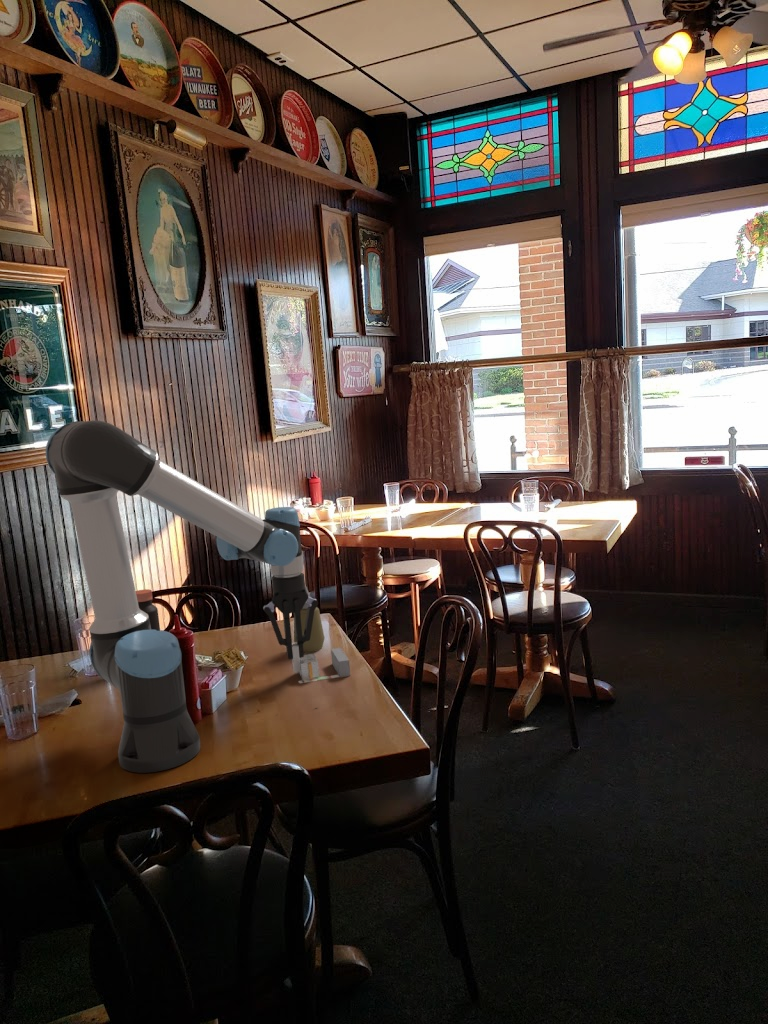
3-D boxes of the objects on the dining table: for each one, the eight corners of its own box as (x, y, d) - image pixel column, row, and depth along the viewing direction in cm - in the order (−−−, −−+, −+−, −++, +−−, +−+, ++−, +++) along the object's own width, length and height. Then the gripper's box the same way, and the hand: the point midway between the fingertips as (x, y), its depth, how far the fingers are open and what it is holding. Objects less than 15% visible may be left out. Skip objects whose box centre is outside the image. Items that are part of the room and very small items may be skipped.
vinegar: (132, 667, 200) (123, 593, 197) (155, 659, 205) (146, 587, 202) (146, 671, 196) (137, 596, 193) (169, 663, 201) (160, 590, 198)
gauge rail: (350, 681, 178) (349, 660, 178) (287, 691, 175) (285, 670, 174) (342, 667, 188) (340, 647, 187) (281, 677, 184) (279, 656, 183)
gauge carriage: (320, 679, 177) (318, 662, 177) (303, 682, 176) (301, 665, 176) (315, 669, 184) (313, 653, 183) (298, 672, 183) (297, 656, 182)
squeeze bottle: (319, 658, 196) (313, 590, 193) (290, 657, 198) (283, 590, 196) (330, 648, 204) (324, 583, 201) (302, 647, 206) (296, 583, 203)
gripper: (312, 567, 182) (321, 661, 185) (257, 574, 178) (267, 670, 182) (318, 573, 174) (326, 671, 178) (261, 580, 171) (271, 680, 175)
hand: (297, 670), depth 180 cm, fingers closed
